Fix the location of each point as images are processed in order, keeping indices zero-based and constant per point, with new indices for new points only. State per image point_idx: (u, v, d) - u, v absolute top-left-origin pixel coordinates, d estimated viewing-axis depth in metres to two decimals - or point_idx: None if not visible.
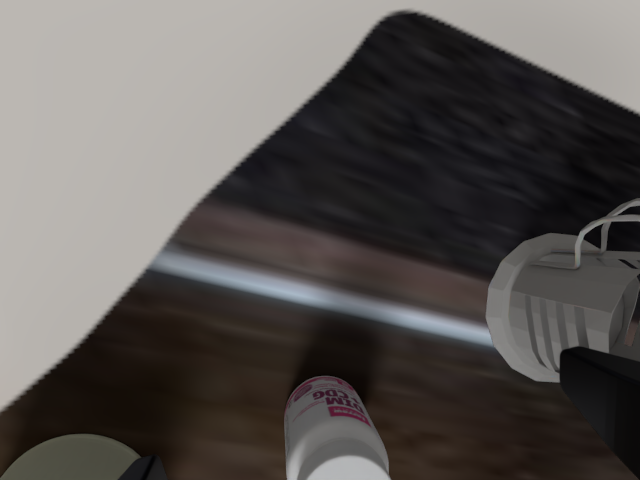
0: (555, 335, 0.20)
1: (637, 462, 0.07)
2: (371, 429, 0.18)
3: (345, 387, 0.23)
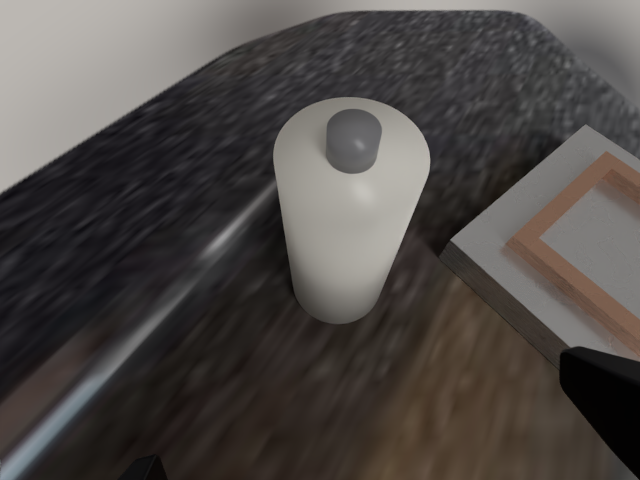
0: None
1: (637, 462, 0.07)
2: None
3: None
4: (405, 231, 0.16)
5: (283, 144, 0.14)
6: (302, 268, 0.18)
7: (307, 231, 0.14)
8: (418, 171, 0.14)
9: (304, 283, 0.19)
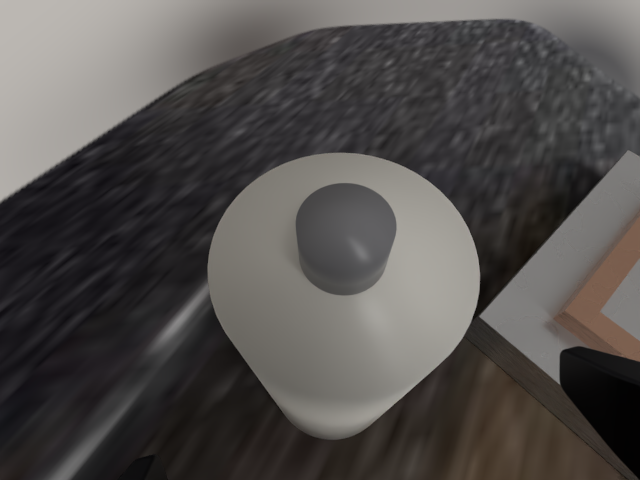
0: None
1: (637, 462, 0.07)
2: None
3: None
4: None
5: (226, 243, 0.08)
6: (277, 403, 0.12)
7: (275, 388, 0.08)
8: (461, 283, 0.08)
9: (284, 411, 0.13)
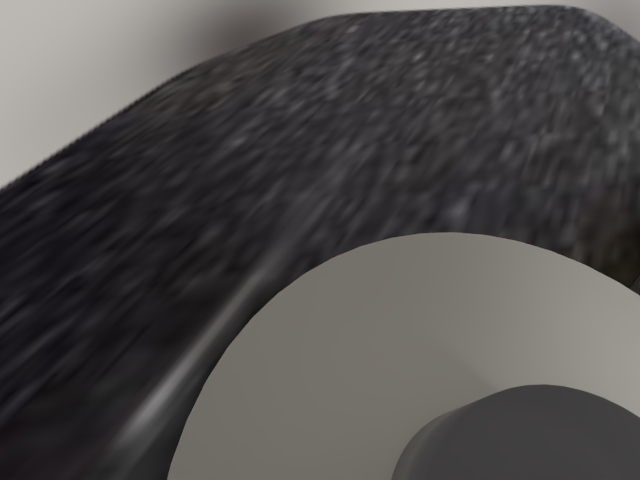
0: None
1: None
2: None
3: None
4: None
5: None
6: None
7: None
8: None
9: None
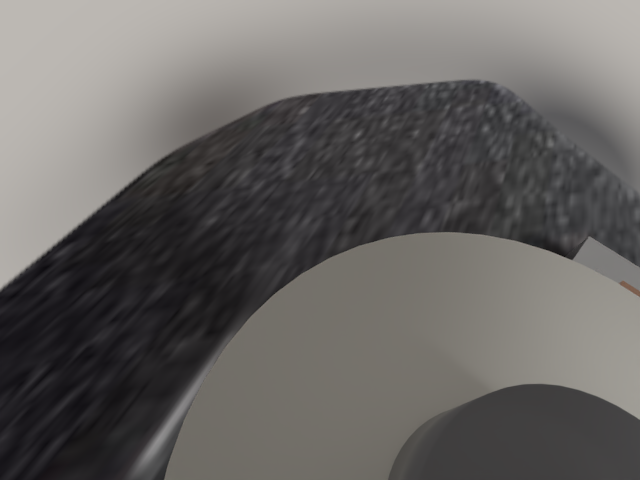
0: None
1: None
2: None
3: None
4: None
5: None
6: None
7: None
8: None
9: None
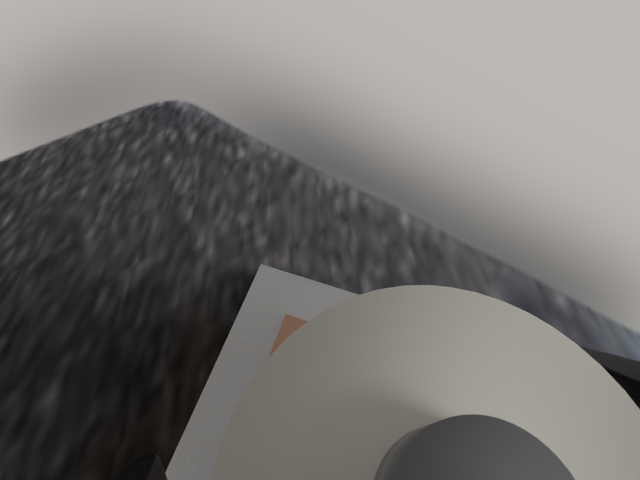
0: None
1: None
2: None
3: None
4: None
5: None
6: None
7: None
8: None
9: None
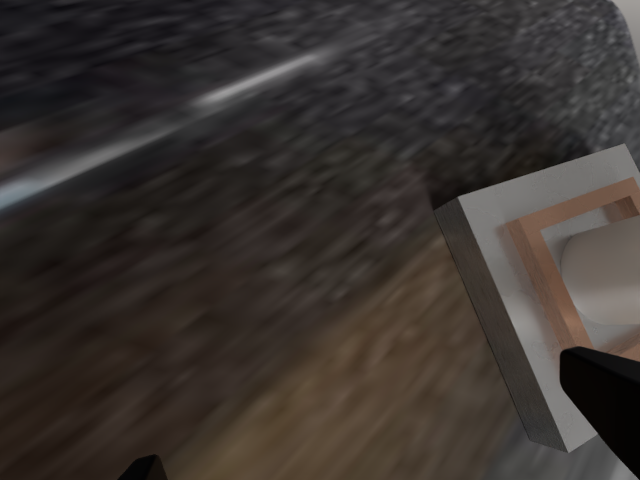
0: None
1: (637, 462, 0.07)
2: None
3: None
4: None
5: None
6: None
7: None
8: None
9: None
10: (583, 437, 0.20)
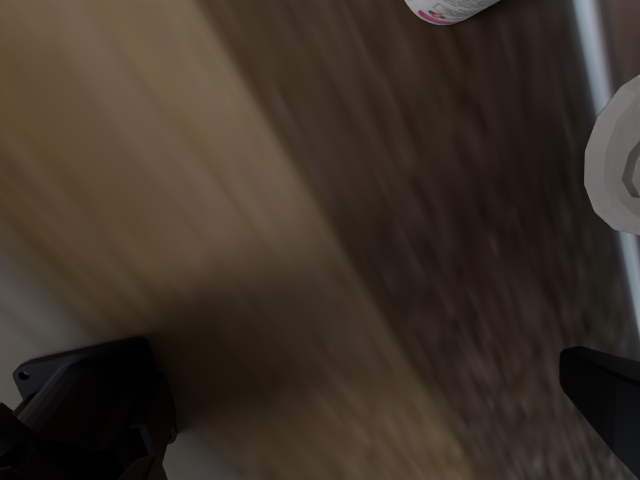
0: None
1: (637, 462, 0.07)
2: None
3: None
4: None
5: None
6: None
7: None
8: None
9: None
10: None
